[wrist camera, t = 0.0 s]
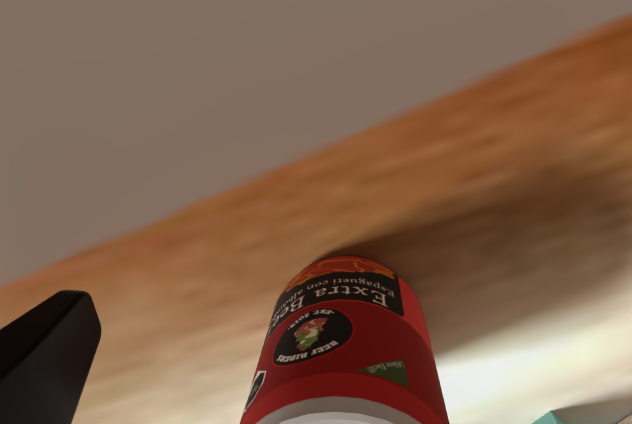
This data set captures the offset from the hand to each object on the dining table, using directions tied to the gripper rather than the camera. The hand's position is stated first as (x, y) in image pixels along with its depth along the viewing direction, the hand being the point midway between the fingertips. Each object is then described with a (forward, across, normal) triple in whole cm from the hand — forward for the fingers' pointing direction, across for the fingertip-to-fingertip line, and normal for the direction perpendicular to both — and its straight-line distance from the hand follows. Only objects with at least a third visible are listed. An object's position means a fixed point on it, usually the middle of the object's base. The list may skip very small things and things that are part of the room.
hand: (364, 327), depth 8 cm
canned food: (+13, 0, +13) cm, 19 cm away
